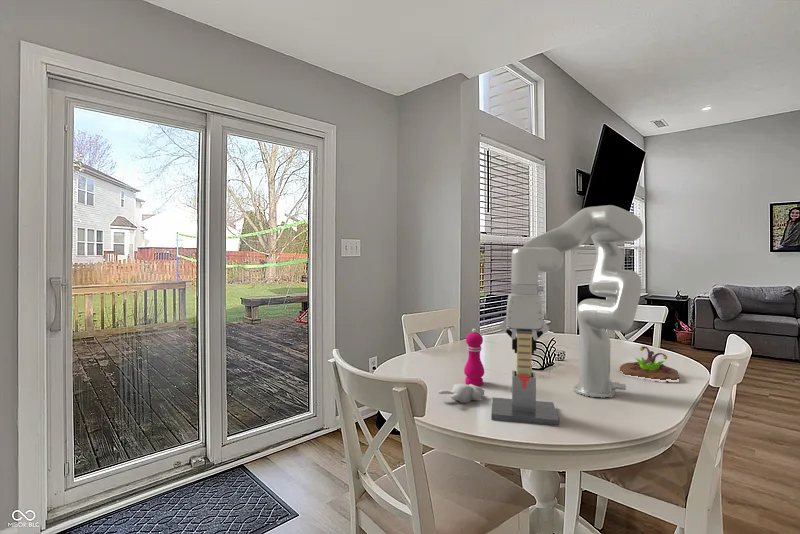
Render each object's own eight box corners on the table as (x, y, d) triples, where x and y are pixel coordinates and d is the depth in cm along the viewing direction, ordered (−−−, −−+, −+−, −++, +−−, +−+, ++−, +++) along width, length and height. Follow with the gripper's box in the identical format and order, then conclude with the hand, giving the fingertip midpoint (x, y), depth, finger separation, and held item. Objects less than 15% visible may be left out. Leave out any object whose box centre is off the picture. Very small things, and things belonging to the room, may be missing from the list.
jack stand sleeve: (553, 407, 128) (553, 367, 128) (558, 425, 115) (559, 380, 114) (492, 402, 133) (492, 363, 132) (491, 419, 119) (491, 376, 119)
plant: (621, 365, 177) (621, 339, 176) (677, 372, 167) (677, 344, 166) (618, 378, 159) (618, 348, 159) (680, 386, 149) (681, 355, 149)
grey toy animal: (491, 387, 135) (456, 391, 126) (489, 403, 135) (455, 408, 126) (470, 380, 143) (436, 382, 134) (469, 395, 143) (435, 398, 134)
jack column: (530, 385, 125) (531, 328, 124) (531, 389, 121) (532, 331, 120) (515, 384, 126) (516, 328, 125) (516, 388, 122) (517, 330, 121)
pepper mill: (484, 387, 148) (484, 330, 147) (463, 385, 149) (463, 329, 148) (484, 381, 155) (484, 326, 154) (464, 379, 156) (464, 326, 155)
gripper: (553, 289, 124) (552, 351, 125) (495, 288, 128) (494, 348, 129) (556, 292, 117) (555, 357, 117) (494, 290, 121) (494, 354, 121)
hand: (524, 351), depth 123 cm, fingers closed on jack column, 4 cm apart
